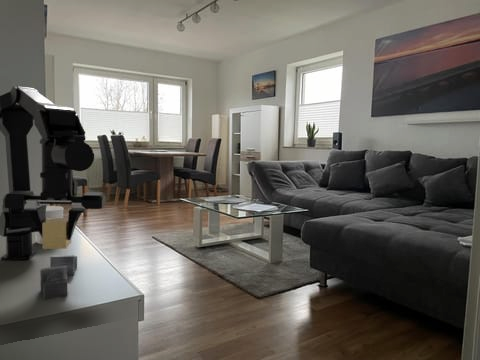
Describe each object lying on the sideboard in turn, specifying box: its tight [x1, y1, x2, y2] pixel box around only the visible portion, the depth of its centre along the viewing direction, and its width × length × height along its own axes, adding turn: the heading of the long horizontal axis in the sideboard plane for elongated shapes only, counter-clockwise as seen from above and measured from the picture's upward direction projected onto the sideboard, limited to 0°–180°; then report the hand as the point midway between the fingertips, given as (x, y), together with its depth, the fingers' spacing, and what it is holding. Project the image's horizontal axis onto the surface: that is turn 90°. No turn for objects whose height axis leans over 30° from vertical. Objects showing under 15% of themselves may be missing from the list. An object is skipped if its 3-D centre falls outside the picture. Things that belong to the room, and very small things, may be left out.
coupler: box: [42, 217, 72, 250], centre depth 77 cm, size 4×4×6 cm
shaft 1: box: [39, 266, 68, 300], centre depth 72 cm, size 5×5×4 cm
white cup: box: [34, 205, 65, 245], centre depth 107 cm, size 8×8×10 cm
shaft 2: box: [49, 254, 78, 277], centre depth 84 cm, size 5×5×4 cm
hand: (57, 239), depth 77 cm, fingers closed on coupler, 4 cm apart
